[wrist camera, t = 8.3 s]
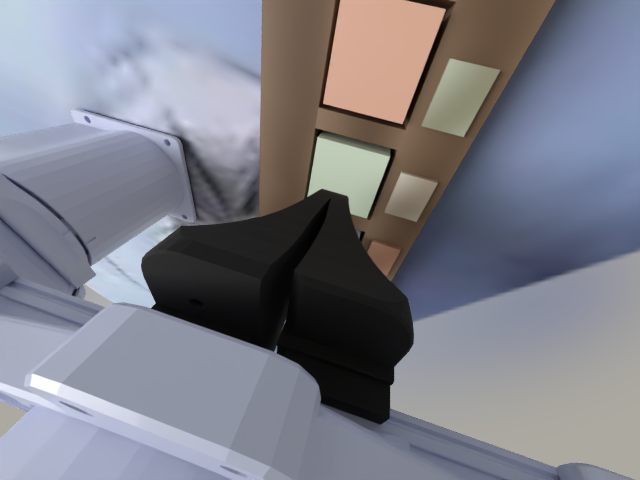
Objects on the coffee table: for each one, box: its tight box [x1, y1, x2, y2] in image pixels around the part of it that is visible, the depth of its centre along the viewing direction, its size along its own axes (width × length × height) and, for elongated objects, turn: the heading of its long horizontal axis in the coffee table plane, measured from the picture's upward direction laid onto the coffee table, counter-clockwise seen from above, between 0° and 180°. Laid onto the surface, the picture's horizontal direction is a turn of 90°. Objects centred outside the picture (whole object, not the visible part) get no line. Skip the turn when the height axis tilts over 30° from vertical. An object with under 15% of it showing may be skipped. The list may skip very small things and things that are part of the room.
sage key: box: [308, 130, 391, 219], centre depth 15 cm, size 4×4×3 cm
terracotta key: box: [323, 0, 446, 124], centre depth 11 cm, size 4×4×3 cm
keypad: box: [259, 0, 555, 281], centre depth 15 cm, size 11×29×3 cm, turn 170°
